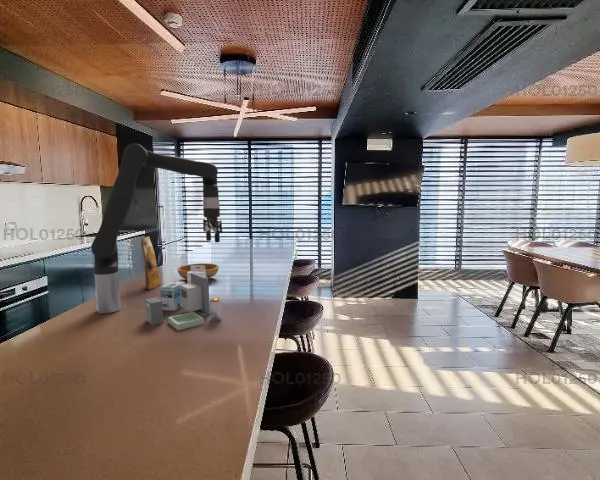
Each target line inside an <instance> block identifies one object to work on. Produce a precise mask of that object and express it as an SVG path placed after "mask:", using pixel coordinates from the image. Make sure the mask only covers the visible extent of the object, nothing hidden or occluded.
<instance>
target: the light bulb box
mask: <svg viewBox="0 0 600 480" xmlns="http://www.w3.org/2000/svg"><path fill="white" fill-rule="evenodd" d="M184 284H186V281H171V282H168V283H165V284H164V285H161V286H160V298H161V299H160V300H161V301H162V306H163V311H171V312H172V311H173V312H175V311H177V310H178V309H181V308H182V305H181V286H180V285H184Z"/></svg>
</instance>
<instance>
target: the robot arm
mask: <svg viewBox="0 0 600 480" xmlns="http://www.w3.org/2000/svg"><path fill="white" fill-rule="evenodd" d="M142 168H154V169H161V170H166V171H170V172H174V173H178V174H181V175H182V174H183V175H188V176H194V177H195V176H196V177H201V178H202V179H201V180H202V209H203V210H202V211H203V217H204V219H202V224H203V225H202V226H203V227H202V229H203V230H202V231H203V232H204V233H205V239H206V241H207V242H208V241H211V240H212V233H211V232H212V231H213V234H214V242H215V243H220V241H221V240H220V239H221V238H220V234H222V233H223V225H222V223H223V222H222V220H221V219H219V218H220V217H221V207H220V200H219V199H220V198H219V196H220V195H219V187H218V173H219V172H218V171H219V170H218V167H217V166H216V165H215V164H213V163H209V162H204V161H196V160H194V159H190V158H187V157H181V156H175V155H174V156H173V155H165V154H160V153H156V152H153V151H150V150H147V149H145V147H143V146H142V145H141V144H139V143H130V144H128V145H127V146H125V148H124V150H123V154H122V157H121V162H120V168H119V171H118V174H117V176H116V177H115V180H114V182H113V186H112V187H111V191H110V192H109V195H108V199H107V201H106V204H105V208H104V212H103V216H102V220H101V224H100V225H99V229H98V231H97V233H96V235H95V237H94V239H93V241H92V243H91V246H90V247H91V248H90V251H91V253H92V255H93V256H94V265H93V271H94V283H95V285H94V286H95V290H94V295H95V297H94V298H95V308H96V312H97V313H98V314H99V315H100V314H110V313H115V312H118V311H121V309H122V305H121V293H120V291H121V290H120V278H119V253H118V251H119V249H118V243H117V240H118V237H119V232H120V230H121V228H122V226H123V224H124V222H125V220H126V218H127V216H128V215H129V213H130V210H131V208H132V207H131V206H132V205H133V201H134V198H135V193H136V185H137V179H138V176H139V173H140V171H141V169H142Z"/></svg>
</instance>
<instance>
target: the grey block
mask: <svg viewBox="0 0 600 480" xmlns="http://www.w3.org/2000/svg"><path fill="white" fill-rule="evenodd" d="M144 303H145V319H146V322H147V323H148V324H149V325H151V326H156V325H160V324H164V310H163V306H162V301H161V299H160V298H159V297H151V298H150V297H149V298H146V299H144Z"/></svg>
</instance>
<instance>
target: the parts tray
mask: <svg viewBox="0 0 600 480" xmlns="http://www.w3.org/2000/svg"><path fill="white" fill-rule="evenodd" d="M167 323H168V324H169V325H170V326H172V327H173V328H174V329H176V331H181V330H184V329H190V328H192V327H197V326H200V325H201V326H202V325H204V324H205V318H204V317H201V316H200V315H198V314H197V313H195V312H193V311H191V312H185V313H181V314H177V315H176V314H175V315H173V316H168V317H167Z"/></svg>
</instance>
